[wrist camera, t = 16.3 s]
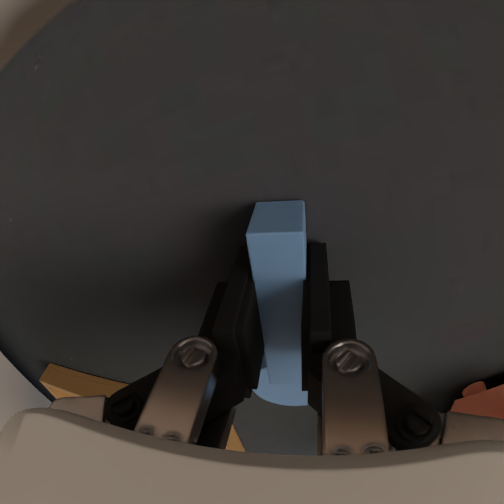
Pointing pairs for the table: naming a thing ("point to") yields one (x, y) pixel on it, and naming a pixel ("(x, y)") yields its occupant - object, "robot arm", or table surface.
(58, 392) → the tray
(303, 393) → the blue paddle
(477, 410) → the pink cube teapot
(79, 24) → the table surface
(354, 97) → the table surface
